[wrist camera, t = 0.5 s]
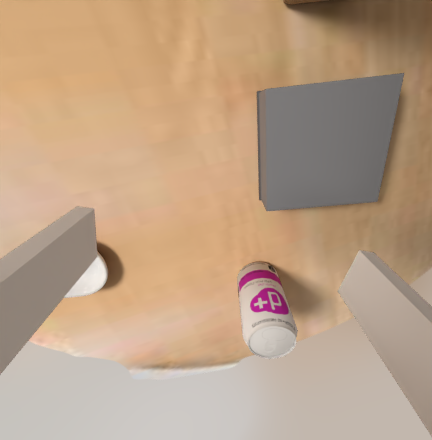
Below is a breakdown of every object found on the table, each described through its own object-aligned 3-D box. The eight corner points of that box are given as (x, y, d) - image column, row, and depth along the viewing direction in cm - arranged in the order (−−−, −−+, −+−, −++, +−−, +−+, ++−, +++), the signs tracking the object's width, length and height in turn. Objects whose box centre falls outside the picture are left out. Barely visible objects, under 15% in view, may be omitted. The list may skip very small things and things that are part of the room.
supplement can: (241, 257, 45) (250, 319, 31) (282, 263, 45) (308, 327, 32) (233, 288, 48) (238, 357, 35) (271, 294, 49) (291, 363, 35)
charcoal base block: (256, 91, 33) (264, 87, 27) (374, 77, 32) (406, 70, 27) (259, 198, 40) (265, 212, 34) (356, 190, 39) (378, 202, 33)
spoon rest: (96, 227, 43) (75, 247, 37) (124, 275, 48) (109, 301, 41) (-8, 255, 46) (-46, 279, 40) (27, 298, 51) (-1, 325, 44)
